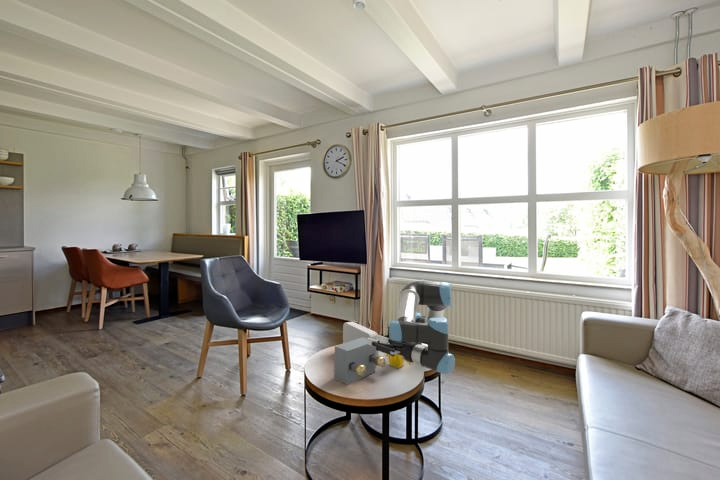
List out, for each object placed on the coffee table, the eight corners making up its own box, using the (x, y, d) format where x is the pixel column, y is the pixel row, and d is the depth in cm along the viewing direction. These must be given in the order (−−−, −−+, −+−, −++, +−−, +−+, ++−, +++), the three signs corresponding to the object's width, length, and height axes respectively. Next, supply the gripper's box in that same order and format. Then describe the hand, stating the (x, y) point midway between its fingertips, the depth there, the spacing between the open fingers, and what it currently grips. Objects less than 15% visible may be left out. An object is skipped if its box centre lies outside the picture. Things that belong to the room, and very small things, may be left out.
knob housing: (362, 366, 172) (362, 337, 172) (375, 372, 166) (375, 341, 166) (334, 378, 158) (334, 346, 158) (346, 384, 152) (347, 351, 151)
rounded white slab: (381, 365, 175) (382, 332, 174) (370, 368, 170) (370, 334, 170) (353, 349, 198) (353, 320, 198) (342, 351, 194) (343, 321, 194)
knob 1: (352, 368, 157) (352, 359, 157) (366, 374, 150) (366, 364, 150) (345, 370, 153) (346, 361, 153) (359, 377, 147) (359, 367, 147)
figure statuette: (414, 369, 171) (415, 327, 170) (405, 373, 165) (406, 330, 165) (388, 359, 183) (388, 320, 183) (379, 363, 178) (379, 323, 177)
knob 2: (371, 360, 167) (371, 351, 167) (385, 365, 160) (385, 356, 160) (365, 362, 164) (366, 354, 163) (379, 368, 157) (379, 359, 157)
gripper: (402, 369, 122) (357, 352, 138) (428, 356, 135) (385, 342, 151) (402, 349, 122) (358, 335, 138) (428, 339, 135) (385, 326, 151)
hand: (372, 339), depth 145 cm, fingers open, 5 cm apart
